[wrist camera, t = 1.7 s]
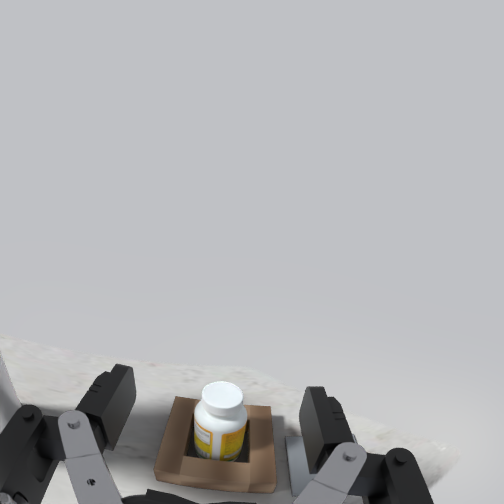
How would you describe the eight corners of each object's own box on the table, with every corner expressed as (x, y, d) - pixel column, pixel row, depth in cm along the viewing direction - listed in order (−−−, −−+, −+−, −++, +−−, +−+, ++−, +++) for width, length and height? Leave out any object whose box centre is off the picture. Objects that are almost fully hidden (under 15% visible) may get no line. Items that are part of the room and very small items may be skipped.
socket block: (156, 480, 21) (153, 469, 21) (176, 409, 33) (175, 396, 32) (272, 492, 22) (276, 482, 21) (267, 419, 33) (270, 406, 33)
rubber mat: (292, 496, 21) (292, 494, 21) (285, 438, 30) (285, 436, 30) (370, 487, 21) (371, 485, 21) (352, 435, 30) (353, 433, 30)
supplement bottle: (190, 462, 25) (188, 407, 22) (199, 430, 30) (199, 373, 28) (239, 469, 25) (248, 416, 22) (243, 436, 30) (252, 380, 28)
